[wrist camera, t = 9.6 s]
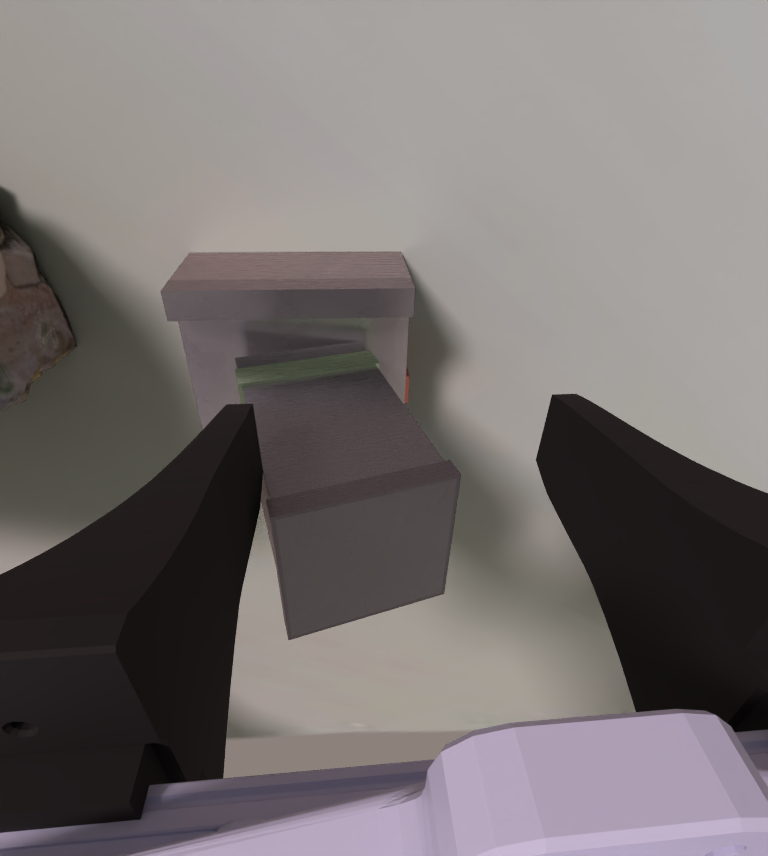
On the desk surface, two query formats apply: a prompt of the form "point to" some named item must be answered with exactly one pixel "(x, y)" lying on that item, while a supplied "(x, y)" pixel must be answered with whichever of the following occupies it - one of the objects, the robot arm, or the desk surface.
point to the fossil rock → (27, 320)
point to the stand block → (287, 312)
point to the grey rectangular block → (346, 486)
